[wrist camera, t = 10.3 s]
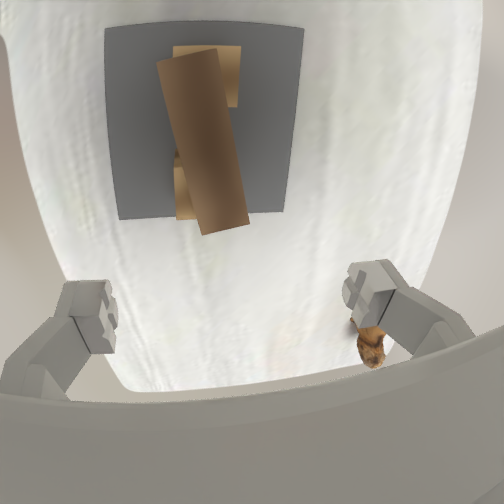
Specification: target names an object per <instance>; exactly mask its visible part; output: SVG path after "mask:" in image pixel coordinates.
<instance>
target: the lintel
mask: <svg viewBox="0 0 504 504" xmlns="http://www.w3.org/2000/svg"><path fill="white" fill-rule="evenodd" d="M156 64H157V69H158V73H159V77H160V81H161V86H162V90H163V94H164V98H165V102H166V106H167V110H168V114H169V118H170V122H171V126H172V130H173V134H174V137H175V141H176V145H177V149H178V153H179V156H180V160H181V164H182V167H183V171H184V175H185V178H186V182H187V186H188V189H189V193H190V196H191V200H192V203H193V207H194V210H195V214H196V217H197V221H198V224H199V227H200V231H201V234H202V235H206V234H210V233H214V232H218V231H222V230H227V229H231V228H235V227H239V226H243V225H248V224H250V222H249V216H248V211H247V206H246V200H245V195H244V190H243V184H242V179H241V174H240V168H239V163H238V158H237V152H236V147H235V142H234V136H233V131H232V126H231V120H230V115H229V110H228V105H227V99H226V94H225V89H224V84H223V78H222V73H221V68H220V63H219V57H218V52H217V48H214V49H209V50H204V51H199V52H194V53H190V54H186V55H181V56H177V57H173V58H170V59H166V60H162V61H159V62H156Z"/></svg>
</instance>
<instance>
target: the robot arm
mask: <svg viewBox="0 0 504 504" xmlns="http://www.w3.org/2000/svg"><path fill="white" fill-rule="evenodd" d="M347 272H348V274H349V277H348V278H347V279H346V280H345V281H344V283H343V287H342V296H343V300H344V303H345V305H346V306H347V307H348V308H350V309H351V310H352V314H351V316H352V318H353V320H354V322H355V323H356V325H357V327H358V329H360V328H366V327H373V326H378V327H379V328H380V329H381V330H383V331H384V332H385V333H386V334H387V335H389V336H390V337H391V338H392V339H394V340H395V341H396V342H397V343H398V344H400V345H401V346H402V347H403V348H405V349H406V350H407V351H408V352H410V353H411V354H412V355H413V356H412V358H411V359H410V360H408V361H405V362H401V363H398V364H394V365H391V366H387V367H384V368H380V369H376V370H372V371H369V372H365V373H361V374H357V375H352V376H348V377H344V378H340V379H335V380H330V381H326V382H321V383H316V384H311V385H306V386H300V387H295V388H289V389H283V390H277V391H271V392H264V393H256V394H249V395H241V396H232V397H223V398H213V399H201V400H188V401H170V402H142V403H141V402H139V403H138V402H135V403H115V402H114V403H113V402H82V401H70V399H69V398H68V397H67V396H66V395H65V392H66V391H67V389H68V388H69V386H70V385H71V383H72V382H73V380H74V379H75V377H76V376H77V375H78V373H79V372H80V370H81V369H82V368H83V366H84V365H85V363H86V362H87V360H88V359H89V357H90V356H91V355H90V354H112V353H115V344H116V335H115V332H114V330H115V329H116V328H117V326H118V308H117V303H116V300H115V298H114V297H112V296H111V293H112V286H111V283H110V281H109V280H80V281H67V282H66V283H65V284H64V286H63V289H62V292H61V295H60V298H59V301H58V304H57V307H56V311H55V314H54V317H49V318H48V319H47V320H46V321H45V322H44V323H43V324H42V325H41V326H40V327H39V328H38V329H37V330H36V331H35V332H34V333H33V334H32V335H31V336H30V337H29V338H28V339H27V340H25V341H24V342H23V344H21V345H20V346H19V348H17V349H16V351H14V353H12V355H11V356H10V357H9V358H8V359H7V360H6V361H5V364H4V368H3V371H2V375H1V378H0V504H504V325H503V326H501V327H498V328H496V329H494V330H491V331H489V332H487V333H484V334H482V335H479V336H477V337H476V336H475V335H474V333H473V332H472V330H471V329H470V327H469V326H468V325H467V323H466V322H465V321H464V319H463V318H462V316H461V315H460V314H458V313H457V312H455V311H453V310H452V309H450V308H448V307H446V306H445V305H443V304H442V303H440V302H438V301H437V300H435V299H433V298H431V297H430V296H428V295H426V294H425V293H422V292H421V291H419V290H418V289H416V288H414V287H409V285H408V284H407V283H406V281H405V280H404V279H403V277H402V276H401V275H400V273H399V272H398V271H397V269H396V268H395V267H394V265H393V264H392V263H391V261H389V260H388V259H383V260H375V261H366V262H355V263H351V264H350V266H349V268H348V271H347Z"/></svg>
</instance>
